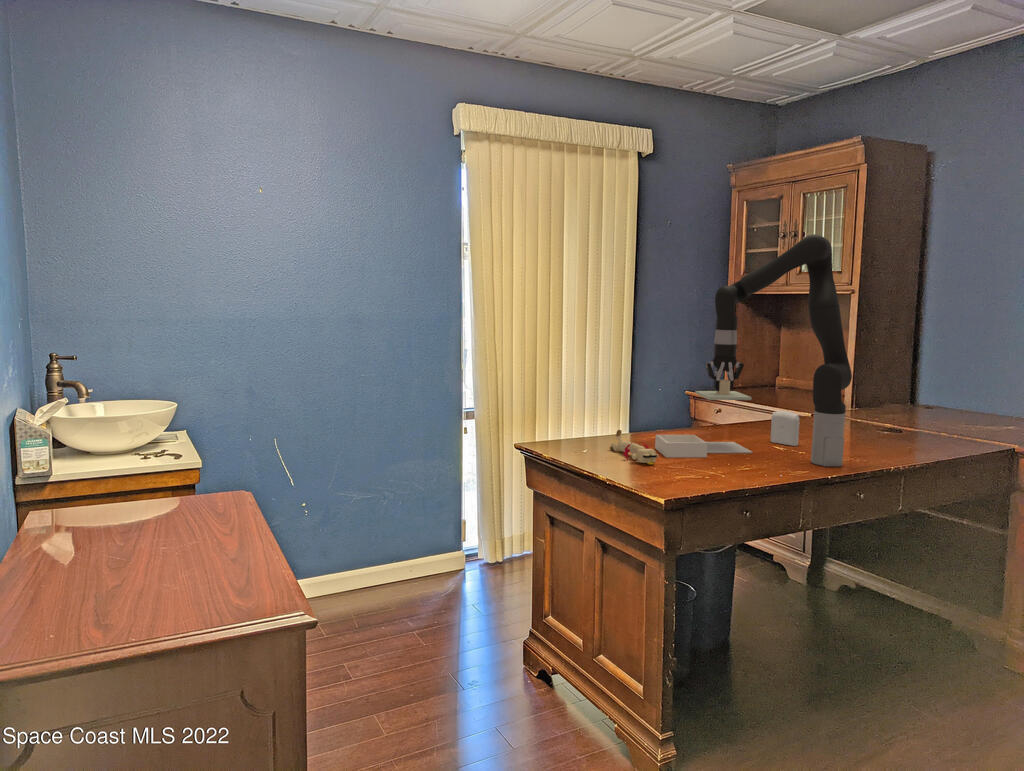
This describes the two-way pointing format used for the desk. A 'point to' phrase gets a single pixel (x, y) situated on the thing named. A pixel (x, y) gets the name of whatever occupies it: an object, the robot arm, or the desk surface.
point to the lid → (723, 393)
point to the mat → (726, 447)
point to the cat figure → (634, 450)
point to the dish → (681, 446)
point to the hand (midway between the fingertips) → (723, 390)
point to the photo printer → (785, 428)
